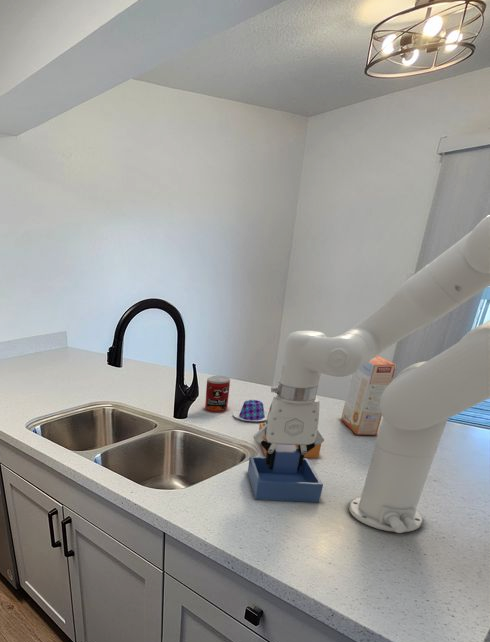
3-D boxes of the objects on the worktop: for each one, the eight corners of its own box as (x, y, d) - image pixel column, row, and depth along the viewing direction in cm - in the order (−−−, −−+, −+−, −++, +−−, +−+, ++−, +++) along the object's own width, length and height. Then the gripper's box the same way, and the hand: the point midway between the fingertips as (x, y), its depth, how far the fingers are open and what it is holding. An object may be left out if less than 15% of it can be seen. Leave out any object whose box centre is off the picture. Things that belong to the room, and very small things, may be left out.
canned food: (204, 412, 153) (206, 381, 148) (205, 405, 159) (207, 375, 154) (227, 413, 151) (230, 382, 146) (227, 405, 157) (230, 375, 152)
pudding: (259, 409, 152) (261, 395, 149) (278, 421, 141) (280, 405, 139) (226, 413, 150) (228, 398, 148) (243, 425, 140) (245, 409, 138)
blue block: (296, 473, 99) (300, 453, 96) (273, 472, 100) (276, 452, 97) (291, 464, 103) (295, 444, 101) (269, 463, 104) (272, 444, 102)
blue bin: (319, 502, 96) (323, 484, 94) (255, 499, 99) (258, 481, 97) (304, 475, 108) (307, 458, 106) (247, 473, 110) (249, 456, 108)
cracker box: (377, 436, 126) (397, 364, 117) (355, 435, 128) (372, 364, 118) (360, 419, 139) (377, 353, 129) (340, 419, 140) (355, 353, 130)
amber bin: (318, 457, 116) (321, 442, 114) (265, 456, 119) (267, 440, 116) (305, 438, 128) (308, 424, 125) (257, 437, 130) (259, 423, 128)
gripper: (257, 396, 91) (246, 473, 100) (346, 397, 88) (326, 476, 96) (252, 386, 98) (242, 459, 106) (334, 387, 94) (317, 462, 103)
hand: (282, 466), depth 101 cm, fingers closed on blue block, 5 cm apart
